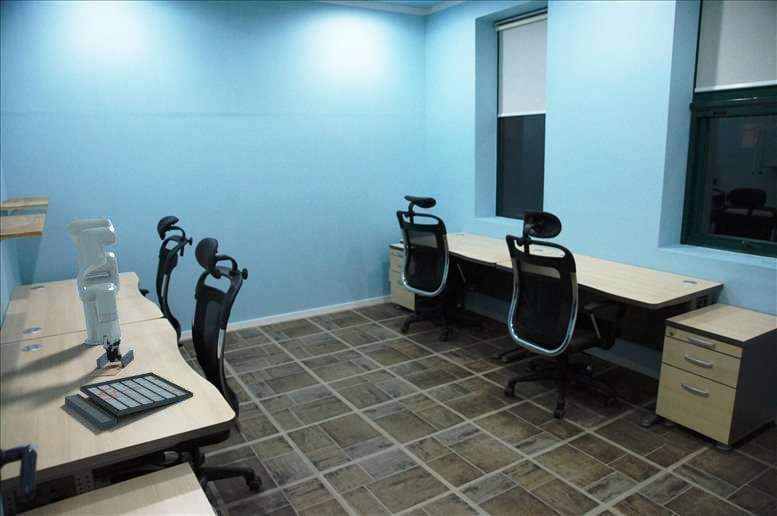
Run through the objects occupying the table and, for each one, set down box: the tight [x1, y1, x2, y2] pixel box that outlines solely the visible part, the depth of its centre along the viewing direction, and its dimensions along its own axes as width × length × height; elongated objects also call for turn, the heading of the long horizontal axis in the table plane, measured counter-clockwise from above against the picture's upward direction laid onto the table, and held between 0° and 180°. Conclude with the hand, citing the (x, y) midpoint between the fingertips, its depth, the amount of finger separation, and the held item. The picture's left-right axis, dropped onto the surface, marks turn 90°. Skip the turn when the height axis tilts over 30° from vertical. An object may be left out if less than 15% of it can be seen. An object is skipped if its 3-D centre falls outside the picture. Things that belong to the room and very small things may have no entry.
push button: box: [105, 338, 123, 364], centre depth 225 cm, size 7×5×10 cm
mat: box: [89, 367, 123, 378], centre depth 218 cm, size 7×10×1 cm, turn 94°
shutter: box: [64, 371, 194, 432], centre depth 193 cm, size 32×7×31 cm
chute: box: [95, 349, 135, 370], centre depth 227 cm, size 10×11×4 cm
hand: (114, 357), depth 226 cm, fingers closed on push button, 3 cm apart
